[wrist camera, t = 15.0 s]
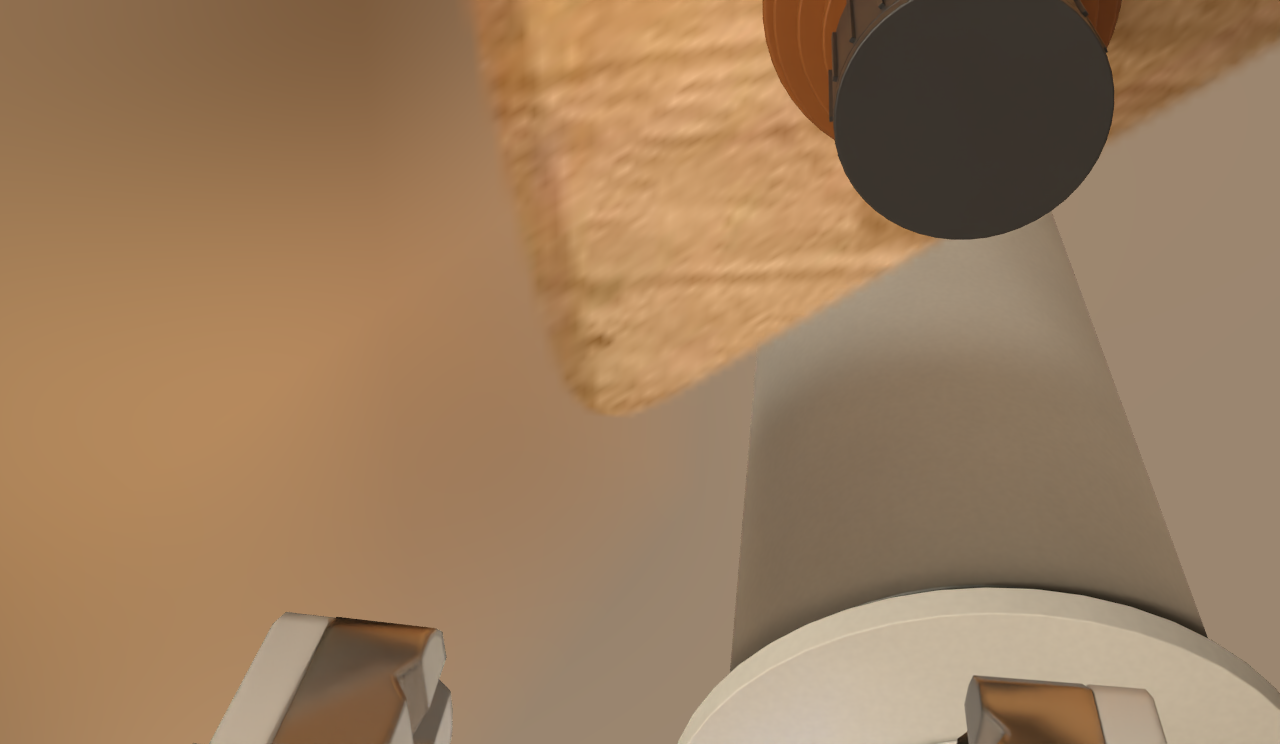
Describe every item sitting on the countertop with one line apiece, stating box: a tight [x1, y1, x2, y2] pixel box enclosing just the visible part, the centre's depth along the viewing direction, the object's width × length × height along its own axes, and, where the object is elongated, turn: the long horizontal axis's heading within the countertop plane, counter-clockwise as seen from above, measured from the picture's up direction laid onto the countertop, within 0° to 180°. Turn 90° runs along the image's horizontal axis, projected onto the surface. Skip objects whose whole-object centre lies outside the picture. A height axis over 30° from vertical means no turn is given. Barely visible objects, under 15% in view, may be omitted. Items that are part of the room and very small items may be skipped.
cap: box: [828, 0, 1114, 239], centre depth 19 cm, size 4×4×3 cm
